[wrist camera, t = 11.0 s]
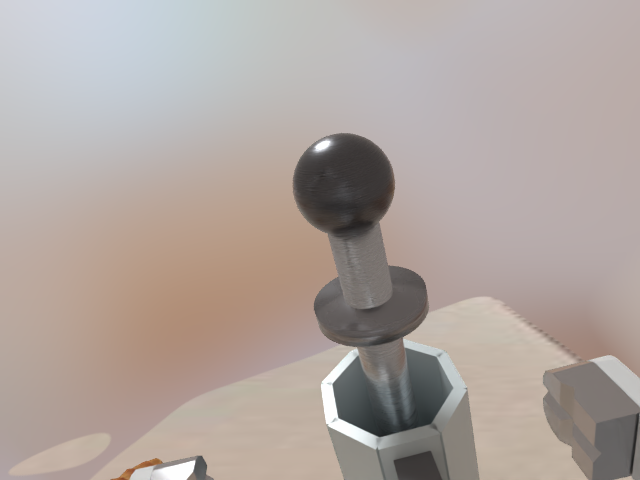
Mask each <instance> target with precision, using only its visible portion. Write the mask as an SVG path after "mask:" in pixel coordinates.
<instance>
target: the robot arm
mask: <svg viewBox="0 0 640 480" xmlns="http://www.w3.org/2000/svg"><path fill="white" fill-rule="evenodd" d="M543 384H544V386H545V387H546V388H547V389H548V393H547V394H546V395H545V397H544V398H543V404H544V412H545V415H546V418H547V421H548V423H549V425H550V427H551V429H552V430H553V432H554V433H555V435H556V436H557V438H558V439H559V440H560V441H562V442H564V443H566V444H568V445H570V446H571V447H572V458H573V459H574V461H575V462H576V463H577V465H578V466H579V467H580V469H581V470H582V471H583V473H584V474H585V476H586V477H587V478H588V480H614V479H619V478H623V477H628V476H632V478H633V479H634V480H640V378H639V377H638V376H636V375H635V374H634V373H633V372H632V371H631V370H630V369H628V368H627V367H626V366H625V365H624V364H623V363H622V362H621V361H619V360H618V359H617V358H616V357H613V356H611V355H608V356H604V357H600V358H596V359H592V360H588V361H583V362H579V363H575V364H571V365H567V366H563V367H559V368H555V369H552V370H548V371H545V373H544V375H543ZM206 470H207V464H206V462H205V461H204V459H203V457H202V456H195V457H190V458H185V459H181V460H176V461H171V462H167V463H162V464H157V465H154V466H150V467H145V468H141V469H136V470H135V471H134V473H133V474H132V475H131V477H130V479H129V480H214V479H213V478H211V477H210V476H208V475H206Z"/></svg>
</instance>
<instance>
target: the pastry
mask: <svg viewBox="0 0 640 480" xmlns="http://www.w3.org/2000/svg"><path fill="white" fill-rule="evenodd" d="M162 463H163V462H162V461H161V460H160V459H157V458H155V459H152V460H150V461H145V462H143V463H141V464H139V465H137V466H135V467H134V468H132V469H127V470H126V471H125V472H124V473H123V474H122V475H121V476H120V477H119V478H116V479H111V480H129V479H130V477H131V475H132V474H133V473H134V471H135V470H136V469H141V468H145V467H150V466H154V465H157V464H162Z"/></svg>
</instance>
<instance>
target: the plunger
mask: <svg viewBox="0 0 640 480" xmlns="http://www.w3.org/2000/svg"><path fill="white" fill-rule="evenodd" d="M394 190H395V180H394V173H393V169H392V166H391V164H390V161H389V160H388V158H387V156H386V155H385V154H384V152H383V151H382V150H381V149H380V148H379V147H378V146H377V145H375V144H374V143H373V142H372V141H370V140H368V139H366V138H364V137H361V136H358V135H355V134H348V133H340V134H334V135H330V136H327V137H324V138H322V139H320V140H318V141H316V142H315V143H314V144H312V145H311V146H310V147H309V148H308V149H307V150H306V151H305V152H304V154H303V155H302V156H301V158H300V160H299V162H298V164H297V166H296V169H295V172H294V177H293V193H294V198H295V201H296V204H297V207H298V209H299V210H300V212H301V214H302V215H303V216H304V218H305V219H306V220H307V221H308V222H309V223H310V224H311V225H313V226H314V227H315V228H317V229H319V230H320V231H322V232H325V233H328V237H329V241H330V245H331V249H332V252H333V256H334V260H335V264H336V268H337V272H338V276H339V277H337V278H335V279H334V280H332V281H331V282H329V283H328V284H327V285H325V287H323V289H321V291H320V292H319V293H318V295H317V296H316V299H315V302H314V310H315V314H316V317H317V321H318V324H319V327H320V330H321V331H322V333H323V334H324V335H325V336H326V337H327V338H329V339H330V340H332V341H334V342H336V343H339V344H342V345H346V346H353V347H357V349H358V353H359V357H360V361H361V365H362V369H363V372H364V376H365V380H366V384H367V388H368V392H369V396H370V399H371V403H372V407H373V411H374V415H375V419H376V423H377V426H378V430H379V434H380V437H384V436H388V435H391V434H395V433H399V432H403V431H407V430H411V429H415V428H418V427H421V426H420V421H419V416H418V411H417V406H416V401H415V397H414V392H413V387H412V382H411V377H410V372H409V367H408V362H407V357H406V352H405V347H404V342H403V337H404V336H406V335H408V334H409V333H411V332H412V331H414V330H415V329H416V328H417V327H418V326H419V325H420V324H421V323H422V322H423V320H424V319H425V318H426V315H427V313H428V309H429V303H428V296H427V290H426V285H425V282H424V280H423V279H422V278H421V277H420V276H419V275H418V274H416V273H415V272H413V271H411V270H409V269H406V268H402V267H396V266H388V263H387V258H386V253H385V248H384V244H383V239H382V234H381V229H380V224H379V221H380V220H381V219H382V218H383V217H384V215H385V214H386V212H387V211H388V209H389V207H390V205H391V203H392V199H393V196H394Z"/></svg>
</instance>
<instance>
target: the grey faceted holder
mask: <svg viewBox="0 0 640 480" xmlns="http://www.w3.org/2000/svg"><path fill="white" fill-rule="evenodd" d="M403 342H404V347H405V352H406V357H407V362H408V367H409V372H410V377H411V382H412V387H413V392H414V397H415V401H416V406H417V411H418V416H419V421H420V426H421V427H418V428H415V429H411V430H407V431H403V432H399V433H395V434H391V435H388V436H384V437H380V434H379V430H378V426H377V423H376V419H375V415H374V411H373V407H372V403H371V399H370V396H369V392H368V388H367V384H366V380H365V376H364V372H363V369H362V365H361V361H360V357H359V353H358V349H355V350H353V352H352V351H350V352H349V353H348V354H347V356H346V357H345V358H344V359H343V360H342V361H341V362H340V363H339V364H338V365H337V366H336V368H335V369H334V370H333V371H332V372H331V373H330V374H329V375H328V376H327V377H326V378H325V379H324V381H323V382H322V384H321V389H322V396H323V403H324V410H325V417H326V424H327V427H328V431H329V434H330V437H331V440H332V443H333V446H334V449H335V452H336V455H337V458H338V461H339V464H340V468H341V471H342V474H343V477H344V480H479V473H478V465H477V458H476V450H475V443H474V436H473V428H472V421H471V413H470V406H469V398H468V391H467V387H466V385H465V383H464V382H463V380H462V378H461V376H460V375H459V373H458V371H457V369H456V368H455V366H454V364H453V362H452V361H451V359H450V357H449V355H448V354H447V352H445V351H444V350H441V349H437V348H434V347H430V346H427V345H423V344H420V343H416V342H412V341H409V340H405V339H403Z"/></svg>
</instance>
